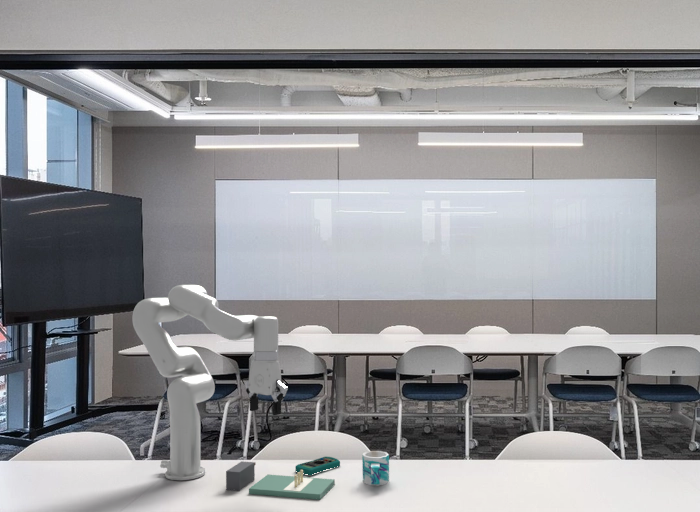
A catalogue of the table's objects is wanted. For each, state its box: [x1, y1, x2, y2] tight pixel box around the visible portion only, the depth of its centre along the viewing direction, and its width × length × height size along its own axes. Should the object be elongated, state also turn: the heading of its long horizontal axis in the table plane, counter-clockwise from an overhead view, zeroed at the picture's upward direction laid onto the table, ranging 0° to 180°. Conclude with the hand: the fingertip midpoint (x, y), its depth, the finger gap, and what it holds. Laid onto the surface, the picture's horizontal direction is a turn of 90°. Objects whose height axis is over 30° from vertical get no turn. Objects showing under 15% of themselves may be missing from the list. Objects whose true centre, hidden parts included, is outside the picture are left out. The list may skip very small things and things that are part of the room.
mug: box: [361, 450, 390, 486], centre depth 189 cm, size 8×12×8 cm
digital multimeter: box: [295, 456, 341, 476], centre depth 205 cm, size 7×15×3 cm, turn 138°
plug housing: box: [225, 461, 256, 492], centre depth 191 cm, size 4×14×6 cm, turn 164°
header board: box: [248, 470, 336, 501], centre depth 185 cm, size 22×14×5 cm, turn 74°
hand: (265, 412), depth 190 cm, fingers open, 9 cm apart
